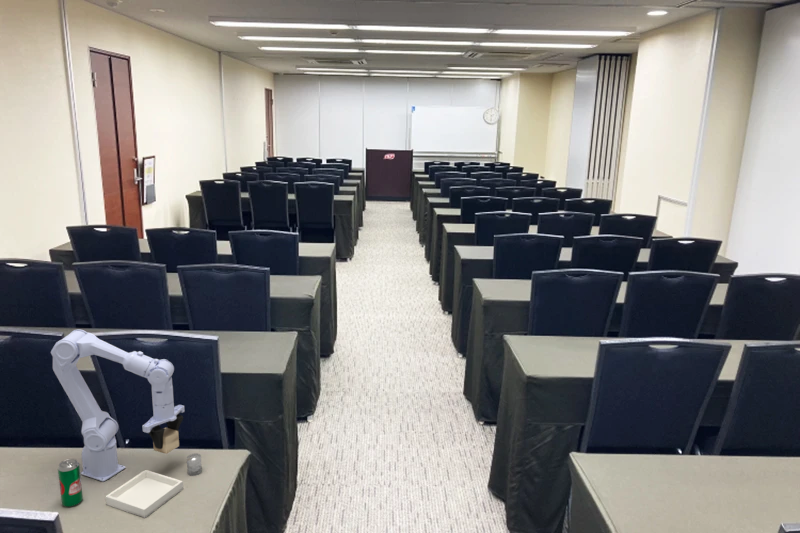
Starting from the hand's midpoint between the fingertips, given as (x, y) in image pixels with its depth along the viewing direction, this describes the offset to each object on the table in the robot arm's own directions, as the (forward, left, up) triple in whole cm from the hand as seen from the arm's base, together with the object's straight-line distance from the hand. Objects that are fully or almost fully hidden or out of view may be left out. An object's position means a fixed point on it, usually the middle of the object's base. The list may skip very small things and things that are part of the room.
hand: (166, 443), depth 168 cm
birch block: (0, 0, -2) cm, 2 cm away
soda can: (-12, -22, -9) cm, 27 cm away
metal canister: (+8, +3, -9) cm, 12 cm away
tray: (+4, -12, -9) cm, 16 cm away
